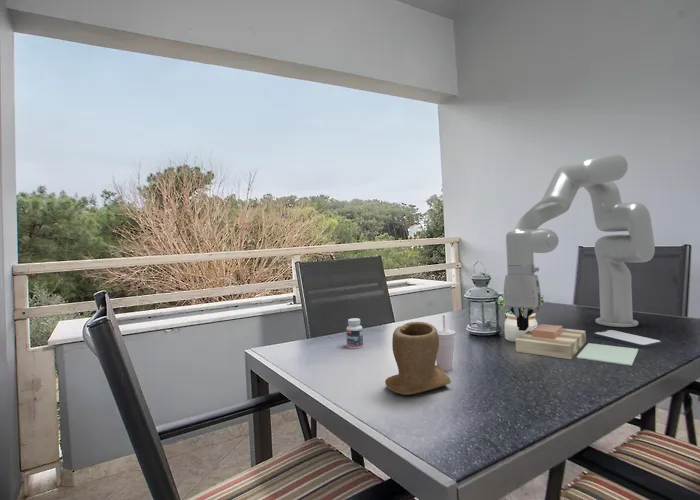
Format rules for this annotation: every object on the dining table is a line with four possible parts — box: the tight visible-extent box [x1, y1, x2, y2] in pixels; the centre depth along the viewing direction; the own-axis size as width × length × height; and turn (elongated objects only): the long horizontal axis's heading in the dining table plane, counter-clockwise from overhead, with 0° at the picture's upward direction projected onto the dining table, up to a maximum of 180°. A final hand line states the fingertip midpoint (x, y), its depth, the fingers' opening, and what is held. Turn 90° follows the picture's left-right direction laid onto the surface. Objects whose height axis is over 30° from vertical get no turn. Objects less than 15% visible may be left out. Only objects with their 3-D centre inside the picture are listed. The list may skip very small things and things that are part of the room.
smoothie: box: [435, 314, 457, 372], centre depth 100 cm, size 6×6×14 cm
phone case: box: [592, 329, 663, 349], centre depth 118 cm, size 9×2×16 cm
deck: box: [515, 327, 587, 360], centre depth 115 cm, size 20×14×4 cm
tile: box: [532, 323, 564, 339], centre depth 115 cm, size 9×6×2 cm, turn 139°
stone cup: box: [384, 321, 452, 396], centre depth 88 cm, size 15×12×15 cm
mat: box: [576, 342, 639, 367], centre depth 106 cm, size 16×12×1 cm
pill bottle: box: [345, 317, 364, 349], centre depth 126 cm, size 5×5×9 cm
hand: (523, 329), depth 120 cm, fingers closed
